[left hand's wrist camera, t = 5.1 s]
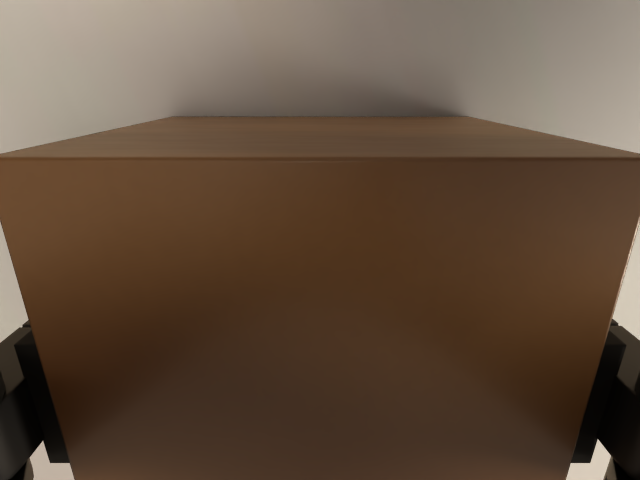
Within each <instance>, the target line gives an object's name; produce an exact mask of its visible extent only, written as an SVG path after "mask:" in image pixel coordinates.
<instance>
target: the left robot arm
mask: <svg viewBox="0 0 640 480" xmlns="http://www.w3.org/2000/svg"><path fill="white" fill-rule="evenodd" d="M597 439H599V441H600V442H601V443H602V445H603V446H604V447H605V448H606V450H607V451H608V452H609V453H610V455H611V458H610V461H609V464H608V468H607V471H606V474H605V477H604V480H640V340H638V339H637V338H636V337H635V336H633V335H632V334H631V333H630V332H628V331H627V330H626V329H625V328H623V327H622V326H618V323H617V322H616V321H615V320H613V319H612V321H611V324H610V328H609V331H608V335H607V338H606V341H605V345H604V348H603V352H602V355H601V359H600V362H599V366H598V369H597V373H596V376H595V380H594V383H593V387H592V390H591V394H590V397H589V401H588V404H587V408H586V411H585V415H584V418H583V421H582V425H581V428H580V432H579V435H578V439H577V442H576V446H575V449H574V453H573V456H572V460H571V463H590V462H591V459H592V455H593V452H594V449H595V446H596V442H597ZM42 441H44V445H45V448H46V451H47V454H48V458H49V461H50V463H70V462H69V458H68V455H67V451H66V448H65V444H64V441H63V437H62V434H61V430H60V427H59V423H58V420H57V416H56V413H55V409H54V406H53V402H52V399H51V395H50V392H49V388H48V385H47V382H46V378H45V375H44V371H43V368H42V364H41V361H40V357H39V354H38V350H37V347H36V343H35V340H34V336H33V333H32V329H31V326H30V322H29V320H28V321H27V322H26V323H24V324H23V327H22V328H18V329H17V330H16V331H15V332H13V333H12V334H11V335H10V336H8V337H7V338H6V339H5V340H3V341H2V342H1V343H0V480H33V477H34V475H33V468H32V464H31V461H30V458H29V457H30V456H31V455H32V454H33V452H34V451H35V450H36V449H37V447H38V446H39V445H40V443H41V442H42Z"/></svg>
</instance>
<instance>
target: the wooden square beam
mask: <svg viewBox="0 0 640 480" xmlns="http://www.w3.org/2000/svg"><path fill="white" fill-rule="evenodd" d="M0 221H1V225H2V228H3V232H4V235H5V239H6V242H7V246H8V249H9V253H10V256H11V260H12V263H13V267H14V270H15V274H16V277H17V280H18V284H19V287H20V291H21V294H22V298H23V301H24V305H25V308H26V312H27V315H28V319H29V322H30V326H31V329H32V333H33V336H34V340H35V343H36V347H37V350H38V354H39V357H40V361H41V364H42V368H43V371H44V375H45V378H46V382H47V385H48V388H49V392H50V395H51V399H52V402H53V406H54V409H55V413H56V416H57V420H58V423H59V427H60V430H61V434H62V437H63V441H64V444H65V448H66V451H67V455H68V458H69V462H70V465H71V469H72V472H73V476H74V479H75V480H566V477H567V474H568V470H569V467H570V463H571V460H572V456H573V453H574V449H575V446H576V442H577V439H578V435H579V432H580V428H581V425H582V421H583V418H584V415H585V411H586V408H587V404H588V401H589V397H590V394H591V390H592V387H593V383H594V380H595V376H596V373H597V369H598V366H599V362H600V359H601V355H602V352H603V348H604V345H605V341H606V338H607V335H608V331H609V328H610V324H611V321H612V317H613V314H614V310H615V307H616V303H617V300H618V296H619V293H620V289H621V286H622V282H623V279H624V275H625V272H626V268H627V265H628V261H629V258H630V255H631V251H632V248H633V244H634V241H635V237H636V234H637V230H638V227H639V223H640V154H638V153H634V152H629V151H624V150H620V149H615V148H610V147H606V146H601V145H597V144H592V143H587V142H583V141H578V140H574V139H569V138H564V137H560V136H555V135H550V134H546V133H541V132H537V131H532V130H527V129H523V128H518V127H514V126H509V125H504V124H500V123H495V122H490V121H486V120H481V119H477V118H472V117H168V118H164V119H159V120H155V121H150V122H145V123H141V124H136V125H131V126H127V127H122V128H118V129H113V130H108V131H104V132H99V133H95V134H90V135H85V136H81V137H76V138H72V139H67V140H62V141H58V142H53V143H48V144H44V145H39V146H35V147H30V148H25V149H21V150H16V151H12V152H7V153H2V154H0Z"/></svg>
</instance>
